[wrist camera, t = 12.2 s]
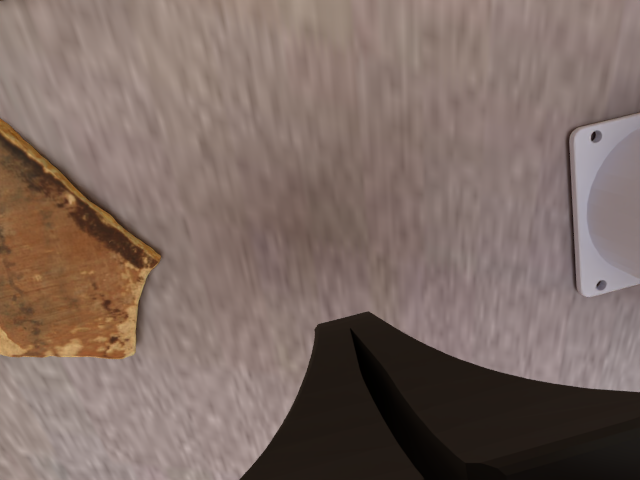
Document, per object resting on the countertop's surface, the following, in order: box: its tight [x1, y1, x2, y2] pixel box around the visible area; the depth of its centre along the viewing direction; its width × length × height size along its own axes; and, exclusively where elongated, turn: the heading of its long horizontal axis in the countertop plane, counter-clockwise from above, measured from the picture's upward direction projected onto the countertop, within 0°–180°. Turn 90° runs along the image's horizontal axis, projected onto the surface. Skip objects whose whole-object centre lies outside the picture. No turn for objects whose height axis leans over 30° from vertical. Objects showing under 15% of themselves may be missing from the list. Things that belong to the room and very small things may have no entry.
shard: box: [0, 119, 161, 359], centre depth 19 cm, size 11×8×2 cm
